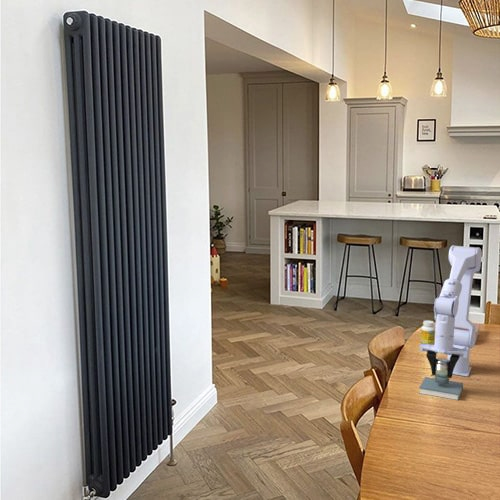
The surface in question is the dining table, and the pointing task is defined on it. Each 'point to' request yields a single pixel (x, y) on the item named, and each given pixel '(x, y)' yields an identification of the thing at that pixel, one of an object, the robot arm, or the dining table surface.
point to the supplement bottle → (428, 333)
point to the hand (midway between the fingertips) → (442, 375)
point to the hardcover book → (441, 389)
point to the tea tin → (442, 370)
